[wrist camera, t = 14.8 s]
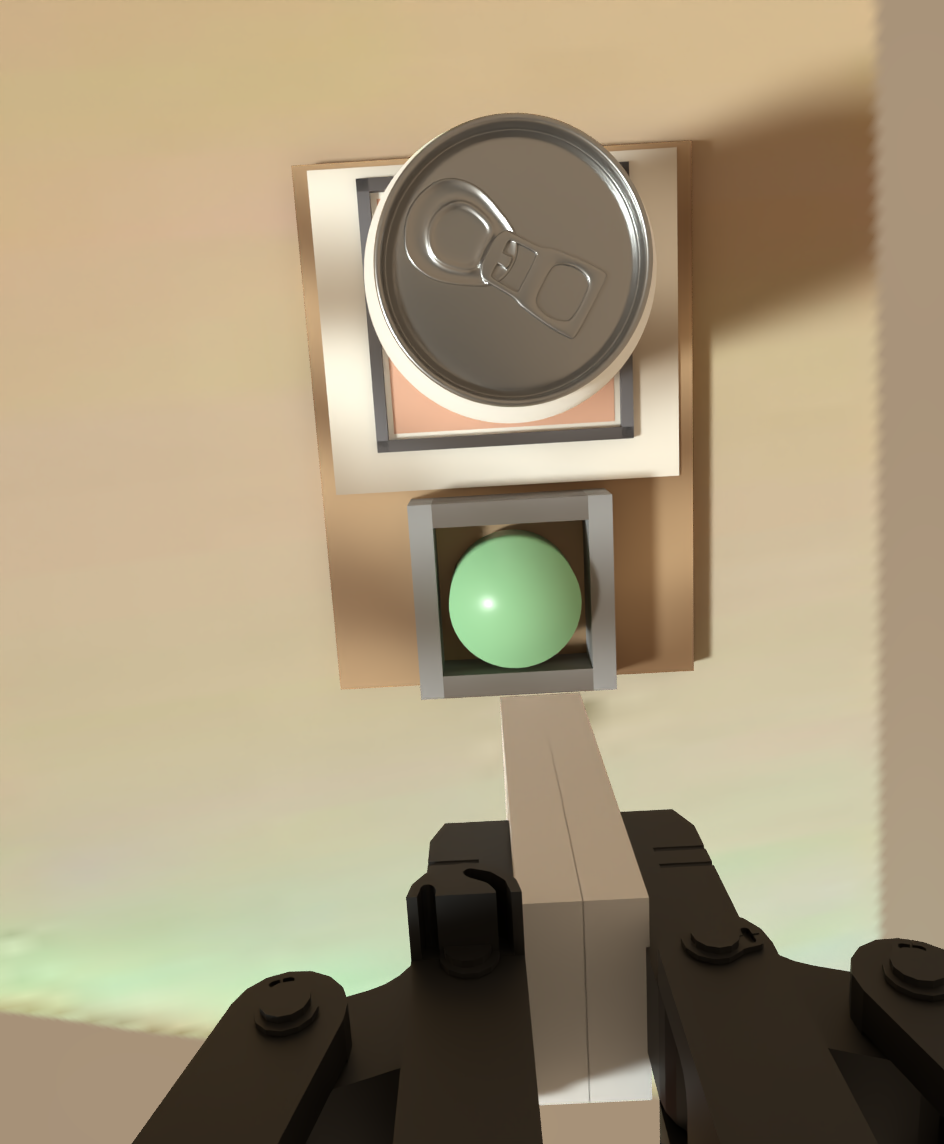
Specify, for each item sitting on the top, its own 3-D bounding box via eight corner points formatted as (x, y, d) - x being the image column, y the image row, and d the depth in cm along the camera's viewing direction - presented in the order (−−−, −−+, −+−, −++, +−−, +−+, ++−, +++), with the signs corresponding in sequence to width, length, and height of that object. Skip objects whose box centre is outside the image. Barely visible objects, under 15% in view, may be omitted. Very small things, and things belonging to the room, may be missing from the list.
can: (455, 173, 28) (441, 22, 16) (629, 269, 29) (736, 189, 17) (369, 356, 29) (298, 336, 18) (537, 444, 30) (577, 482, 18)
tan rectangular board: (296, 171, 29) (279, 151, 26) (685, 147, 29) (706, 124, 26) (344, 682, 33) (333, 707, 30) (688, 663, 33) (706, 687, 30)
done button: (446, 533, 30) (444, 543, 28) (572, 526, 30) (579, 535, 28) (454, 653, 31) (453, 671, 29) (576, 646, 31) (583, 664, 29)
